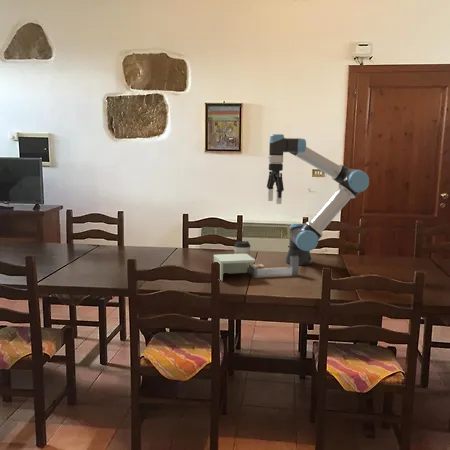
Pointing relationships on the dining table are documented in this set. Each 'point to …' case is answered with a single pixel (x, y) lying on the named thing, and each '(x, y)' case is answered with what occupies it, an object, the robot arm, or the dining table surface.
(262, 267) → the block
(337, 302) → the dining table surface
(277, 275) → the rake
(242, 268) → the shelf nook
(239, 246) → the coffee cup
